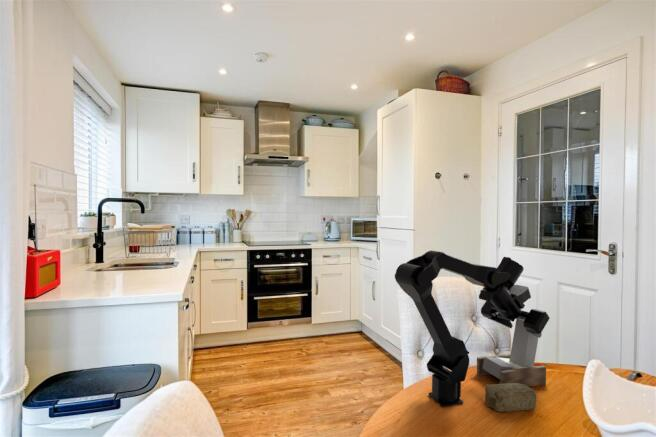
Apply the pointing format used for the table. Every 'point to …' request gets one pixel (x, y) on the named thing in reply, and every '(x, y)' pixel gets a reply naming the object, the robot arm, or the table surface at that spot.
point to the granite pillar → (523, 346)
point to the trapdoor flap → (499, 365)
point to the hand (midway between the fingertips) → (525, 331)
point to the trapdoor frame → (517, 373)
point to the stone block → (510, 397)
